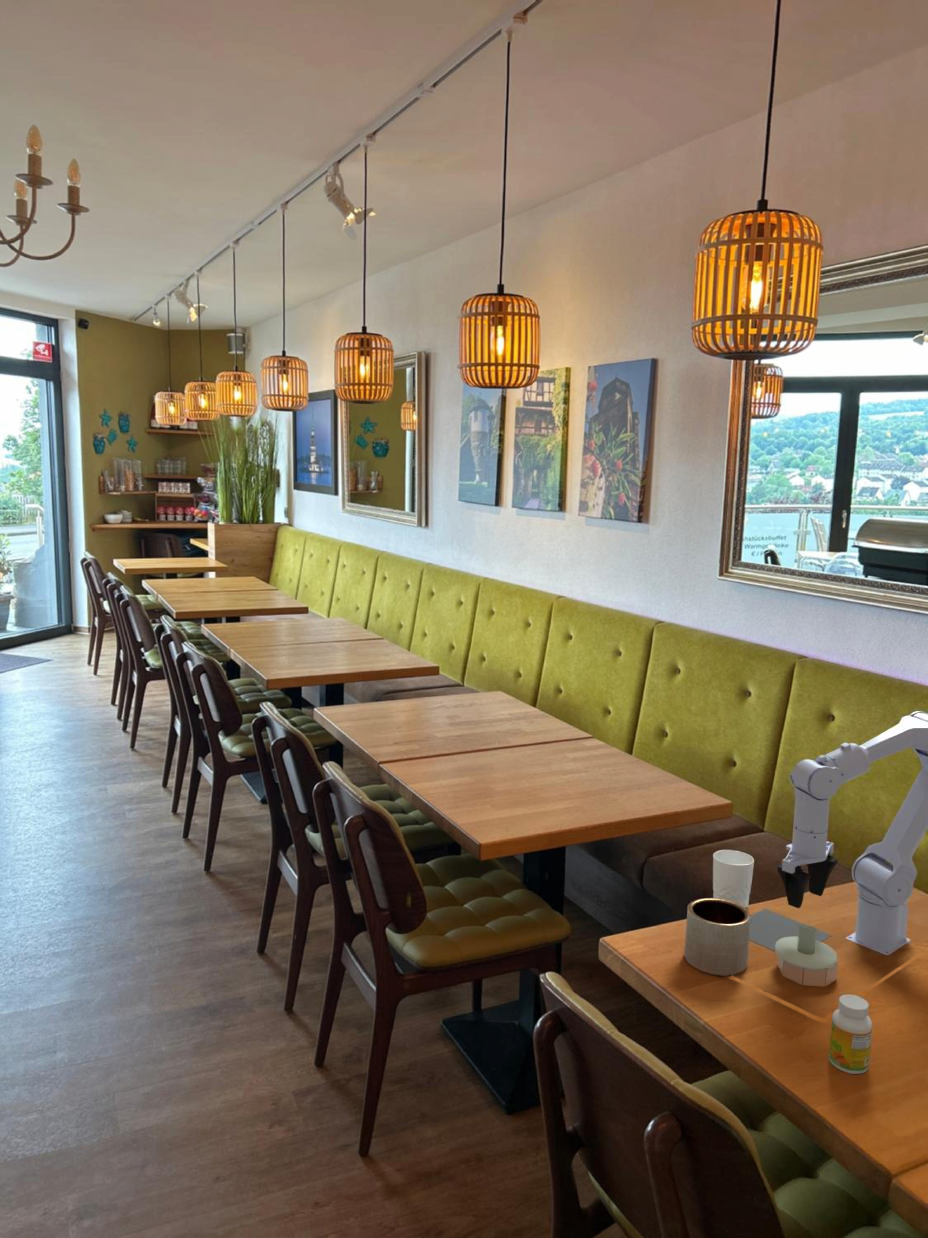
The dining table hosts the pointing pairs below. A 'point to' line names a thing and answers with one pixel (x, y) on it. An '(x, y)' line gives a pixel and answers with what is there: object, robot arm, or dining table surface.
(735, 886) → the white cup
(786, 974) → the bowl
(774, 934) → the mat
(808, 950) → the lid
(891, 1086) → the dining table surface
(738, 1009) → the dining table surface
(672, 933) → the dining table surface
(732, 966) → the planter
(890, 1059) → the dining table surface
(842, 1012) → the supplement bottle
